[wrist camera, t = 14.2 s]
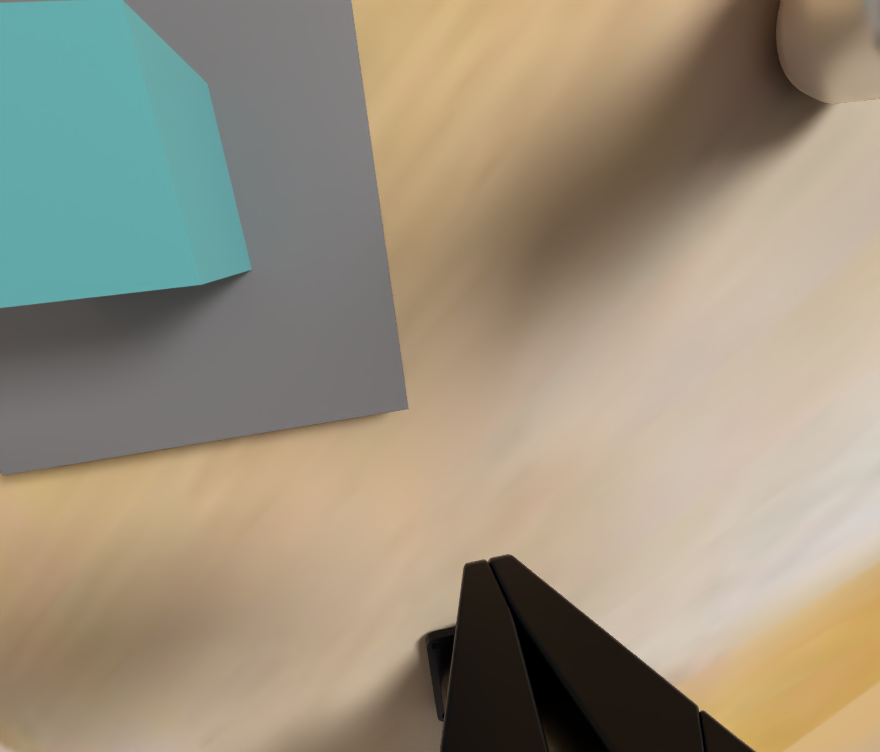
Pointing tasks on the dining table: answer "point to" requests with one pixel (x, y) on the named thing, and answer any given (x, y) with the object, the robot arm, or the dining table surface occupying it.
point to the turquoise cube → (106, 159)
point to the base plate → (238, 296)
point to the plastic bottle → (831, 48)
